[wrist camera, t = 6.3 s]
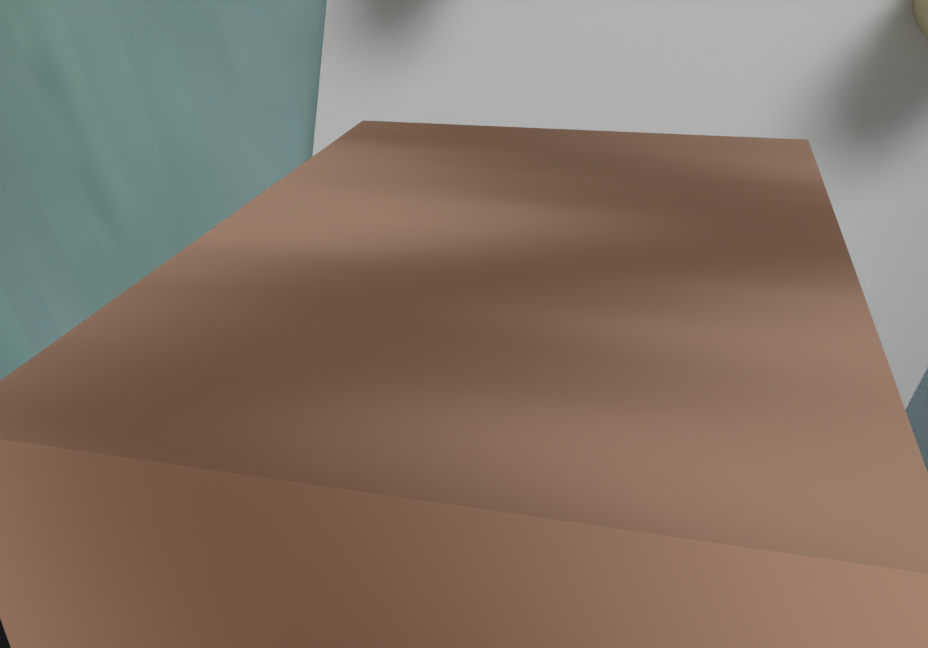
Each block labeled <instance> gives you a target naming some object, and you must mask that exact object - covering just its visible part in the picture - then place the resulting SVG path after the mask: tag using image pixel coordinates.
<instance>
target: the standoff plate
mask: <svg viewBox="0 0 928 648" xmlns="http://www.w3.org/2000/svg"><path fill="white" fill-rule="evenodd" d="M362 121H385V122H409V123H432V124H455V125H479V126H502V127H525V128H548V129H572V130H595V131H618V132H642V133H665V134H688V135H711V136H735V137H758V138H781V139H805V140H808V141H809V143H810V146H811V149H812V152H813V154H814V157H815V160H816V163H817V166H818V168H819V171H820V174H821V177H822V180H823V182H824V185H825V188H826V191H827V193H828V196H829V199H830V202H831V205H832V207H833V210H834V213H835V216H836V219H837V221H838V224H839V227H840V230H841V232H842V235H843V238H844V241H845V244H846V246H847V249H848V252H849V255H850V257H851V260H852V263H853V266H854V269H855V271H856V274H857V277H858V280H859V283H860V285H861V288H862V291H863V294H864V296H865V299H866V302H867V305H868V308H869V310H870V313H871V316H872V319H873V322H874V324H875V327H876V330H877V333H878V335H879V338H880V341H881V344H882V347H883V349H884V352H885V355H886V358H887V361H888V363H889V366H890V369H891V372H892V374H893V377H894V380H895V383H896V386H897V388H898V391H899V394H900V397H901V399H902V402H903V405H904V408H905V410H906V408H907V406H908V404H909V402H910V400H911V398H912V396H913V394H914V392H915V391H916V389H917V387H918V385H919V383H920V381H921V379H922V377H923V375H924V373H925V371H926V370H927V368H928V0H327V5H326V16H325V27H324V37H323V48H322V59H321V70H320V81H319V91H318V102H317V113H316V124H315V134H314V145H313V156H314V155H316V154H317V153H318V152H320V151H321V150H323V149H324V148H325V147H327V146H328V145H329V144H331V143H332V142H334V141H335V140H336V139H338V138H339V137H341V136H342V135H343V134H345V133H346V132H348V131H349V130H350V129H352V128H353V127H355V126H356V125H357V124H359V123H360V122H362ZM313 156H312V157H313Z"/></svg>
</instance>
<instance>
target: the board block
mask: <svg viewBox="0 0 928 648" xmlns="http://www.w3.org/2000/svg"><path fill="white" fill-rule="evenodd" d="M0 619H1V622H2V625H3V627H4V630H5V633H6V636H7V639H8V641H9V644H10V647H11V648H928V472H927V469H926V466H925V464H924V461H923V458H922V455H921V452H920V450H919V447H918V444H917V441H916V438H915V436H914V433H913V430H912V427H911V425H910V422H909V419H908V416H907V413H906V411H905V408H904V405H903V402H902V399H901V397H900V394H899V391H898V388H897V386H896V383H895V380H894V377H893V374H892V372H891V369H890V366H889V363H888V361H887V358H886V355H885V352H884V349H883V347H882V344H881V341H880V338H879V335H878V333H877V330H876V327H875V324H874V322H873V319H872V316H871V313H870V310H869V308H868V305H867V302H866V299H865V296H864V294H863V291H862V288H861V285H860V283H859V280H858V277H857V274H856V271H855V269H854V266H853V263H852V260H851V257H850V255H849V252H848V249H847V246H846V244H845V241H844V238H843V235H842V232H841V230H840V227H839V224H838V221H837V219H836V216H835V213H834V210H833V207H832V205H831V202H830V199H829V196H828V193H827V191H826V188H825V185H824V182H823V180H822V177H821V174H820V171H819V168H818V166H817V163H816V160H815V157H814V154H813V152H812V149H811V146H810V143H809V141H808V140H805V139H781V138H758V137H735V136H711V135H688V134H665V133H642V132H618V131H595V130H572V129H548V128H525V127H502V126H479V125H455V124H432V123H409V122H385V121H362V122H360V123H359V124H357V125H356V126H355V127H353V128H352V129H350V130H349V131H348V132H346V133H345V134H343V135H342V136H341V137H339V138H338V139H336V140H335V141H334V142H332V143H331V144H329V145H328V146H327V147H325V148H324V149H323V150H321V151H320V152H318V153H317V154H316V155H314V156H313V157H311V158H310V159H309V160H307V161H306V162H304V163H303V164H302V165H300V166H299V167H297V168H296V169H295V170H293V171H292V172H291V173H289V174H288V175H286V176H285V177H284V178H282V179H281V180H279V181H278V182H277V183H275V184H274V185H272V186H271V187H270V188H268V189H267V190H265V191H264V192H263V193H261V194H260V195H259V196H257V197H256V198H254V199H253V200H252V201H250V202H249V203H247V204H246V205H245V206H243V207H242V208H240V209H239V210H238V211H236V212H235V213H233V214H232V215H231V216H229V217H228V218H226V219H225V220H224V221H222V222H221V223H220V224H218V225H217V226H215V227H214V228H213V229H211V230H210V231H208V232H207V233H206V234H204V235H203V236H201V237H200V238H199V239H197V240H196V241H194V242H193V243H192V244H190V245H189V246H188V247H186V248H185V249H183V250H182V251H181V252H179V253H178V254H176V255H175V256H174V257H172V258H171V259H169V260H168V261H167V262H165V263H164V264H162V265H161V266H160V267H158V268H157V269H155V270H154V271H153V272H151V273H150V274H149V275H147V276H146V277H144V278H143V279H142V280H140V281H139V282H137V283H136V284H135V285H133V286H132V287H130V288H129V289H128V290H126V291H125V292H123V293H122V294H121V295H119V296H118V297H117V298H115V299H114V300H112V301H111V302H110V303H108V304H107V305H105V306H104V307H103V308H101V309H100V310H98V311H97V312H96V313H94V314H93V315H91V316H90V317H89V318H87V319H86V320H84V321H83V322H82V323H80V324H79V325H78V326H76V327H75V328H73V329H72V330H71V331H69V332H68V333H66V334H65V335H64V336H62V337H61V338H59V339H58V340H57V341H55V342H54V343H52V344H51V345H50V346H48V347H47V348H46V349H44V350H43V351H41V352H40V353H39V354H37V355H36V356H34V357H33V358H32V359H30V360H29V361H27V362H26V363H25V364H23V365H22V366H20V367H19V368H18V369H16V370H15V371H14V372H12V373H11V374H9V375H8V376H7V377H5V378H4V379H2V380H1V381H0Z"/></svg>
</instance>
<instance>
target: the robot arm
mask: <svg viewBox="0 0 928 648" xmlns="http://www.w3.org/2000/svg"><path fill="white" fill-rule="evenodd" d="M0 648H11V647H10V644H9V641H8V639H7V636H6V633H5V630H4V627H3V625H2V622H1V619H0Z"/></svg>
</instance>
